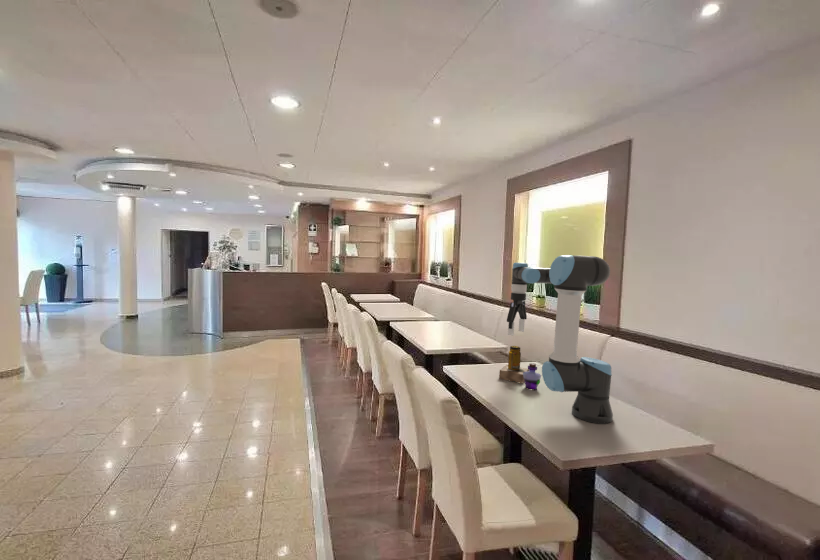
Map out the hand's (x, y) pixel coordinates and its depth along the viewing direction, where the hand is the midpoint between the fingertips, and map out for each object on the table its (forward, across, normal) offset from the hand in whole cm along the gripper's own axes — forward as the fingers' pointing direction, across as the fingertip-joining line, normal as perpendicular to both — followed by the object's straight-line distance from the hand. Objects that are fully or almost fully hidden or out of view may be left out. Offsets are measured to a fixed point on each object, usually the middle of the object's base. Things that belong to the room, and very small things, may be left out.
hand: (516, 333), depth 204 cm
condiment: (+19, 0, +1) cm, 19 cm away
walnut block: (+24, 0, 0) cm, 24 cm away
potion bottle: (+24, +9, +13) cm, 29 cm away
